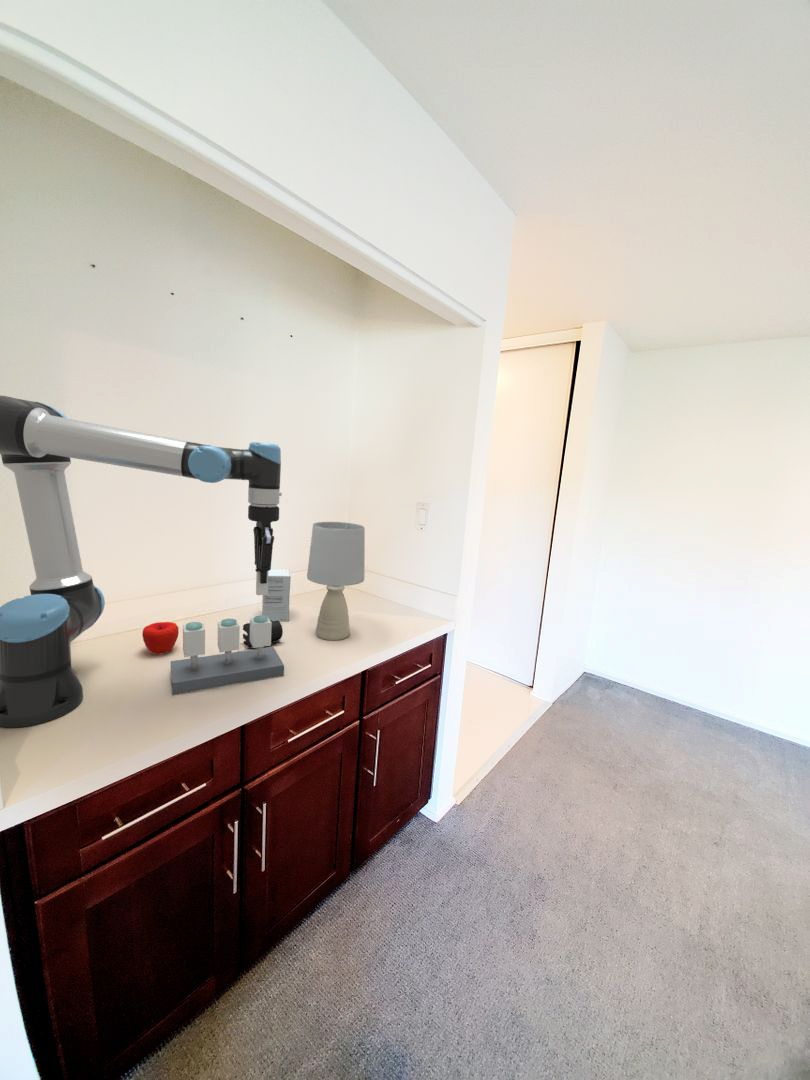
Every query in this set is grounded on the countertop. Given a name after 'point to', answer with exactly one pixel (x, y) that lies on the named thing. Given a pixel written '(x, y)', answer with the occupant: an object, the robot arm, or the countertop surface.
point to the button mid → (228, 635)
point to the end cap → (275, 632)
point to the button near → (193, 639)
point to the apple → (160, 637)
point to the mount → (224, 669)
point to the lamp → (336, 572)
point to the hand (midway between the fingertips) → (261, 593)
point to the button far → (260, 631)
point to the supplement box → (277, 595)
